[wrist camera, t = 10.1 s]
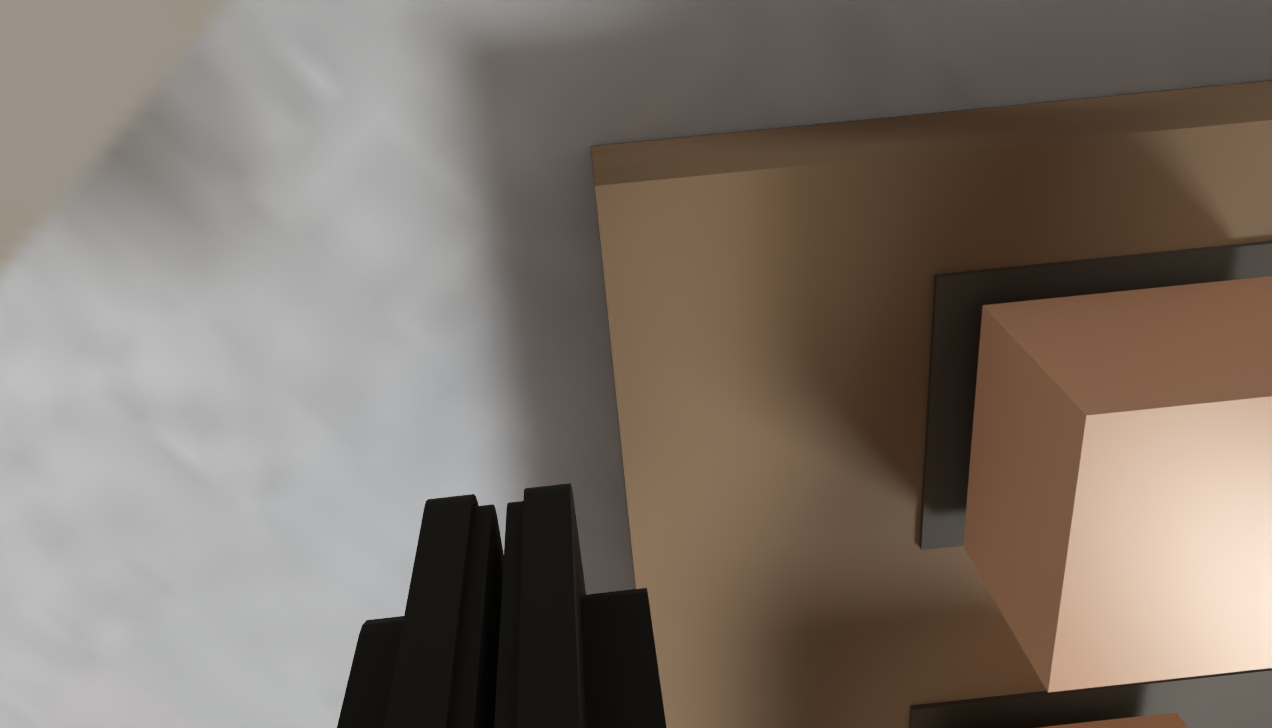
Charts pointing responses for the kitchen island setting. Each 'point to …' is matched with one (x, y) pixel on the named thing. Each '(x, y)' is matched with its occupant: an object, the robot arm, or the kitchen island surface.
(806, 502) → the switch board
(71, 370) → the kitchen island surface
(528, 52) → the kitchen island surface
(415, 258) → the kitchen island surface
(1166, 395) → the tab
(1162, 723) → the tab
